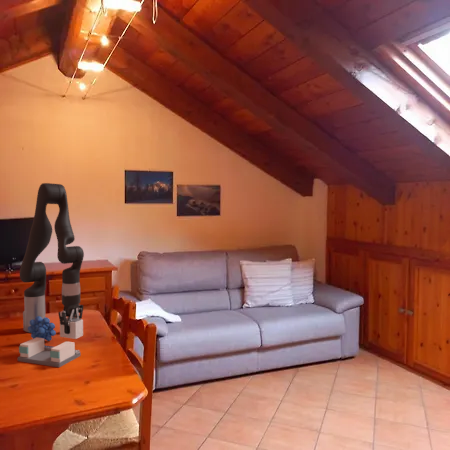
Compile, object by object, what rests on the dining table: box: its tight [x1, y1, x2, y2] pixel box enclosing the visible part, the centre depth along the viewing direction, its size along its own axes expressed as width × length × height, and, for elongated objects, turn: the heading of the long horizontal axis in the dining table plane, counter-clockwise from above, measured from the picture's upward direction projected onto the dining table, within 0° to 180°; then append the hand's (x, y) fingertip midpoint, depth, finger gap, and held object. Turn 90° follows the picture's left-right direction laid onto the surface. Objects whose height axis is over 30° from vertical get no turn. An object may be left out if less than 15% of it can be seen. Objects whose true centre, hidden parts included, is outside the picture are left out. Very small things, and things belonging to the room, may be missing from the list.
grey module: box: [59, 317, 84, 340], centre depth 190 cm, size 8×5×7 cm, turn 72°
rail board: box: [17, 337, 81, 368], centre depth 178 cm, size 20×13×6 cm, turn 72°
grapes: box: [28, 316, 57, 342], centre depth 196 cm, size 12×7×12 cm, turn 106°
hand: (71, 331), depth 190 cm, fingers closed on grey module, 5 cm apart
